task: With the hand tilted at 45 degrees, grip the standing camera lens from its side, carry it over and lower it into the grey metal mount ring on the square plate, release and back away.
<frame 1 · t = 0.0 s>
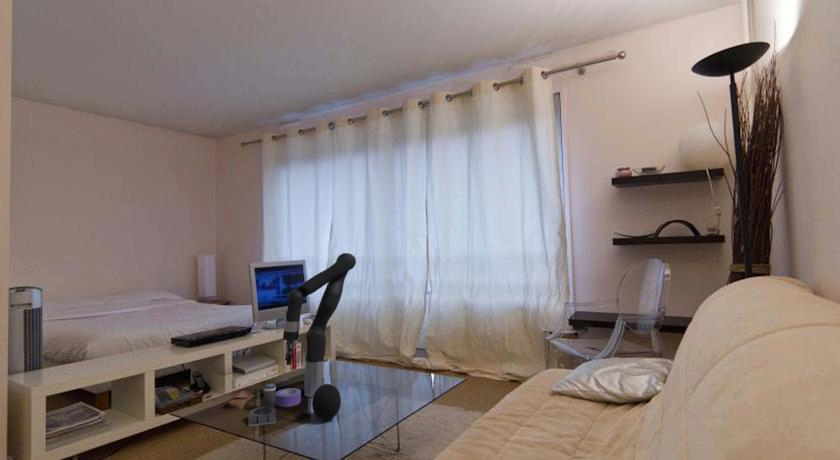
hand: (287, 362, 205), 17 cm above the table, fingers open, 8 cm apart
decorative egg: (325, 419, 179), on the table
mount: (262, 419, 177), on the table
lens: (268, 409, 188), on the table
sunglasses case: (241, 403, 196), on the table
tape roll: (287, 402, 198), on the table
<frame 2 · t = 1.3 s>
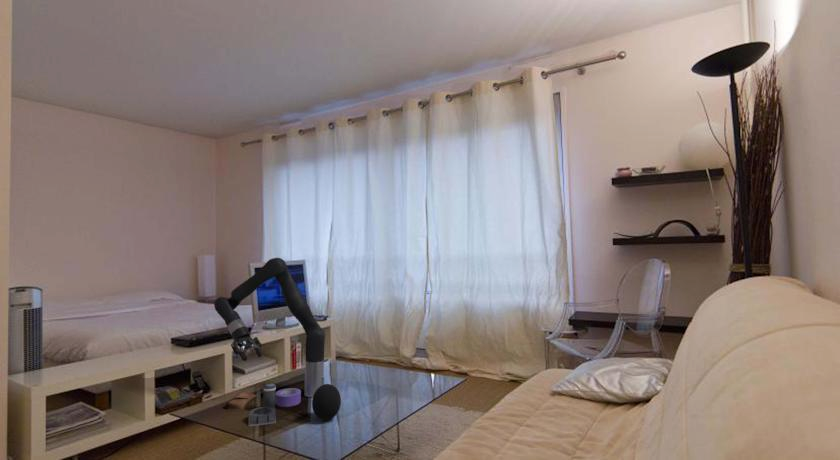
hand: (253, 358, 195), 22 cm above the table, fingers open, 8 cm apart
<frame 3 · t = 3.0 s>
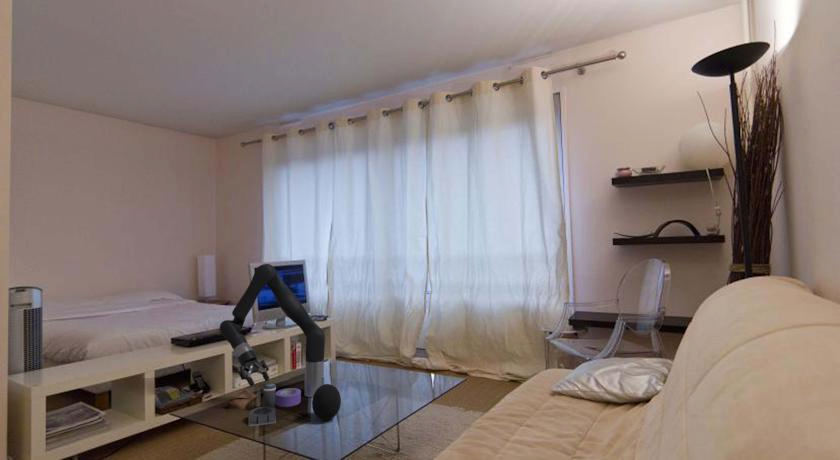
hand: (260, 382, 191), 11 cm above the table, fingers open, 8 cm apart
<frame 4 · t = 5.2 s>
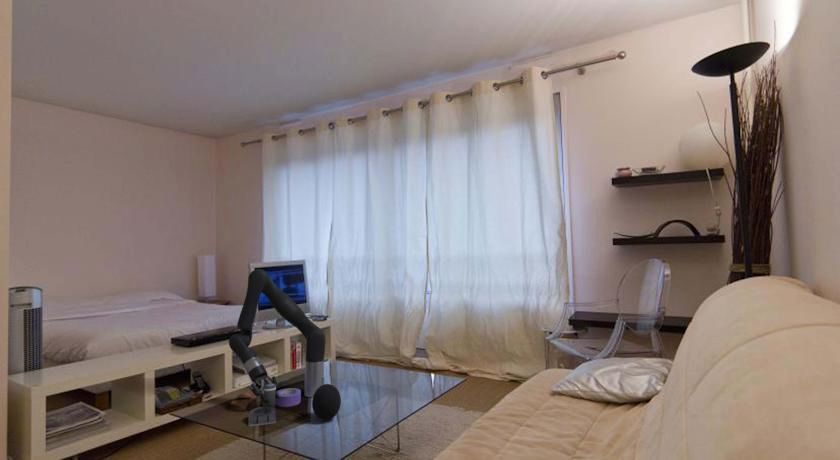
hand: (272, 399, 187), 5 cm above the table, fingers closed on lens, 5 cm apart
lens: (268, 409, 188), on the table, touching gripper
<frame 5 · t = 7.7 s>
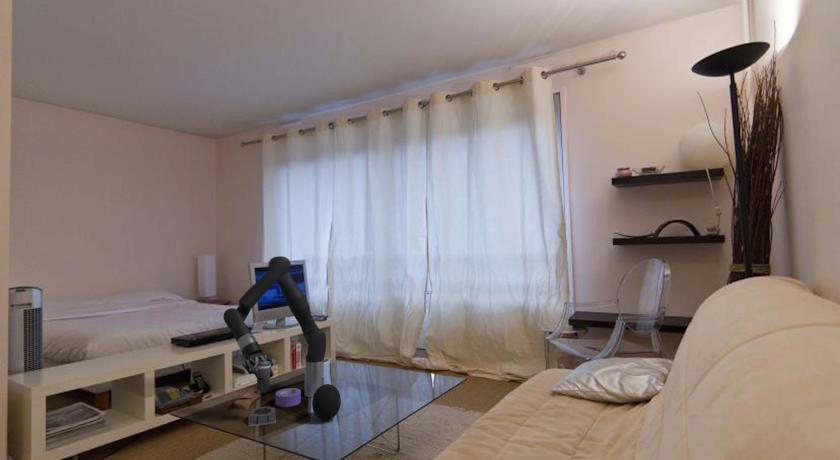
hand: (266, 378, 177), 18 cm above the table, fingers closed on lens, 5 cm apart
lens: (263, 388, 177), point 13 cm above the table, touching gripper
when the fingers open (6 cm above the table, at t = 10.3 s): lens drops 1 cm, resting on mount.
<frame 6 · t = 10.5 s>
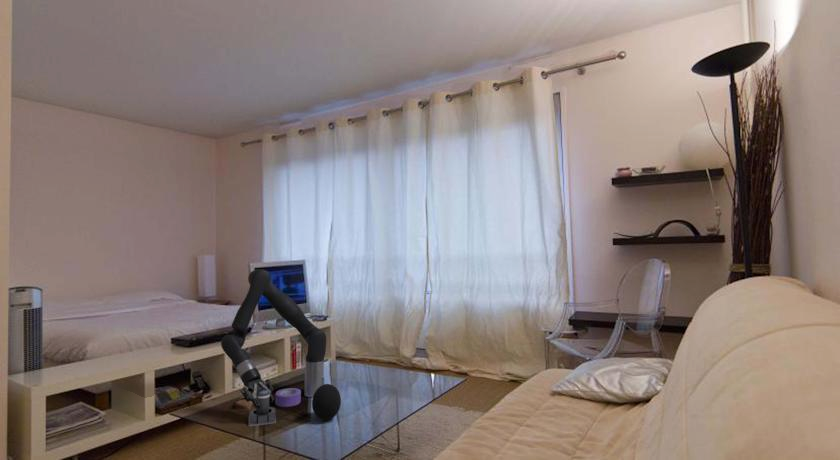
hand: (265, 404, 176), 7 cm above the table, fingers open, 6 cm apart
lens: (262, 418, 177), point 1 cm above the table, touching mount
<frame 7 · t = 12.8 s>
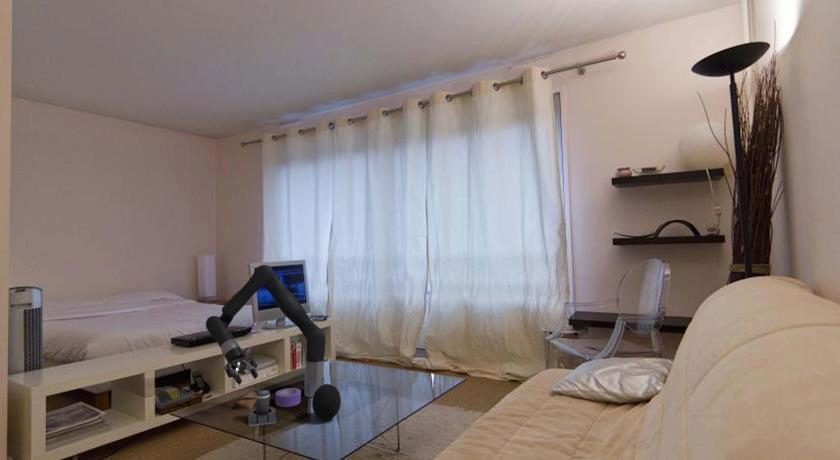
hand: (248, 380, 184), 14 cm above the table, fingers open, 8 cm apart
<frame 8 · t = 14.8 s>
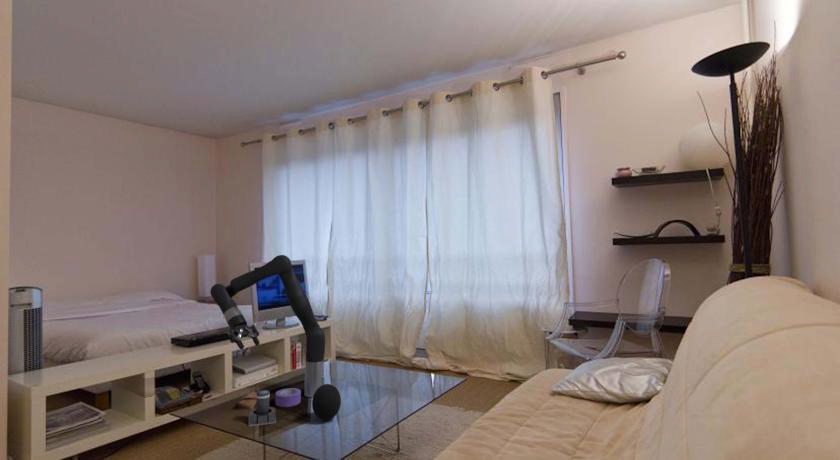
hand: (250, 346, 189), 29 cm above the table, fingers open, 8 cm apart
at the end: lens 0.2 cm off-centre on the mount, point 0.6 cm above the mount's base; lens tilted 0°; the gripper is holding nothing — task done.
